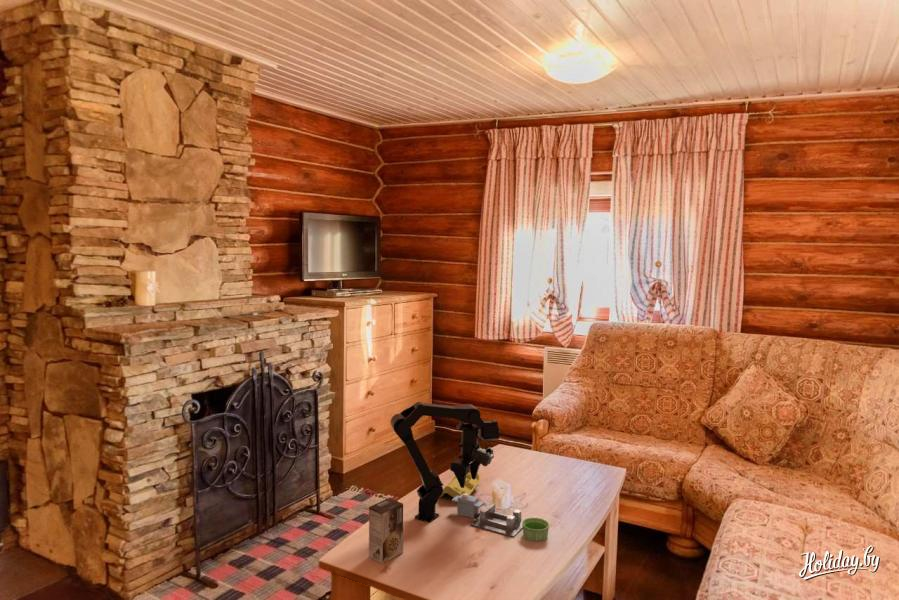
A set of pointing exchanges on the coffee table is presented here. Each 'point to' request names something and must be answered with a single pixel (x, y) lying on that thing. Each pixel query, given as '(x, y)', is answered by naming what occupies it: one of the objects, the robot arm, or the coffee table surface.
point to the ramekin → (535, 529)
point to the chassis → (499, 521)
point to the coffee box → (385, 530)
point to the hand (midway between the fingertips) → (468, 483)
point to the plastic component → (456, 490)
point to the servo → (468, 505)
